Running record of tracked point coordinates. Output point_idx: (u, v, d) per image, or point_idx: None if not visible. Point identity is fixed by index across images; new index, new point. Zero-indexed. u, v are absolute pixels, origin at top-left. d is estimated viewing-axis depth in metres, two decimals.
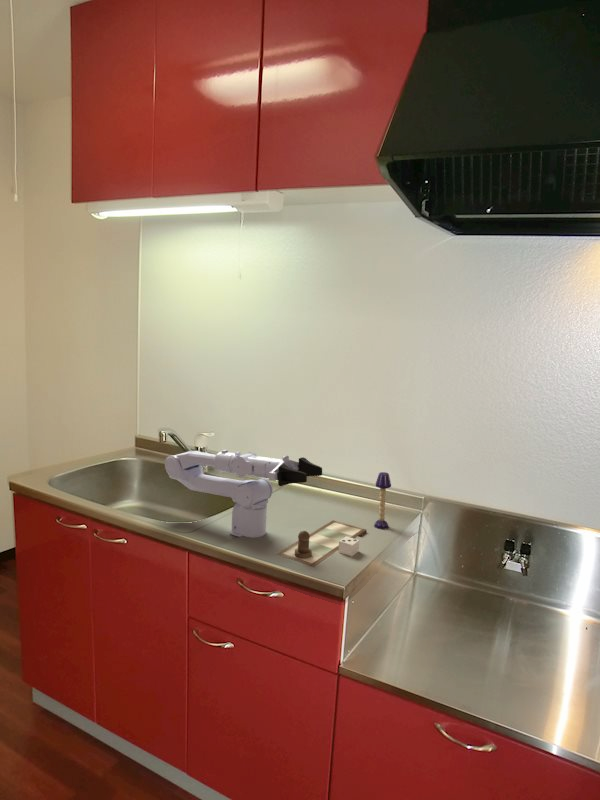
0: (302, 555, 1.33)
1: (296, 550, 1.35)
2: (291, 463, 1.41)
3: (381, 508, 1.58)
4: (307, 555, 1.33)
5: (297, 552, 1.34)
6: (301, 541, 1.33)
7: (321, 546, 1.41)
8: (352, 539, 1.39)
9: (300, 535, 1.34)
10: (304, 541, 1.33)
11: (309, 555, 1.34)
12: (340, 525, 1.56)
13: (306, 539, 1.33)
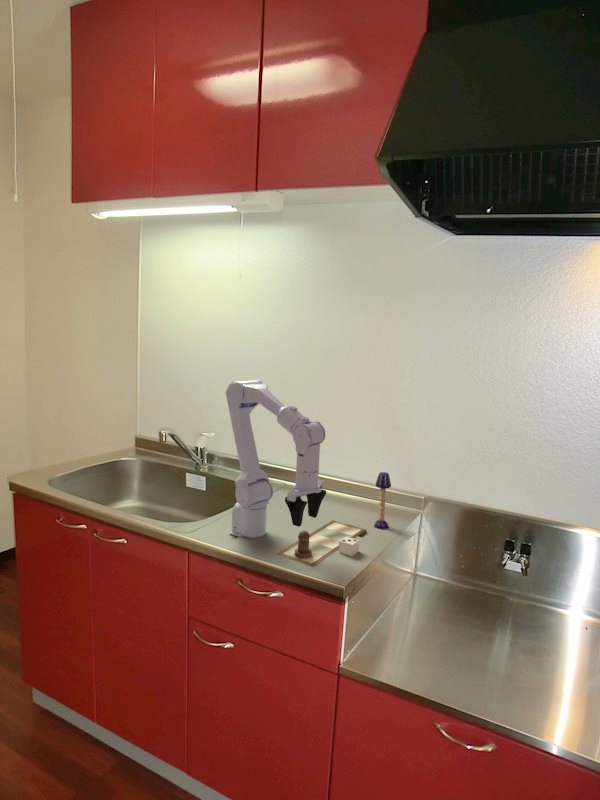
0: (302, 555, 1.33)
1: (296, 550, 1.35)
2: None
3: (381, 508, 1.58)
4: (307, 555, 1.33)
5: (297, 552, 1.34)
6: (301, 541, 1.33)
7: (321, 546, 1.41)
8: (352, 539, 1.39)
9: (300, 535, 1.34)
10: (304, 541, 1.33)
11: (309, 555, 1.34)
12: (340, 525, 1.56)
13: (306, 539, 1.33)
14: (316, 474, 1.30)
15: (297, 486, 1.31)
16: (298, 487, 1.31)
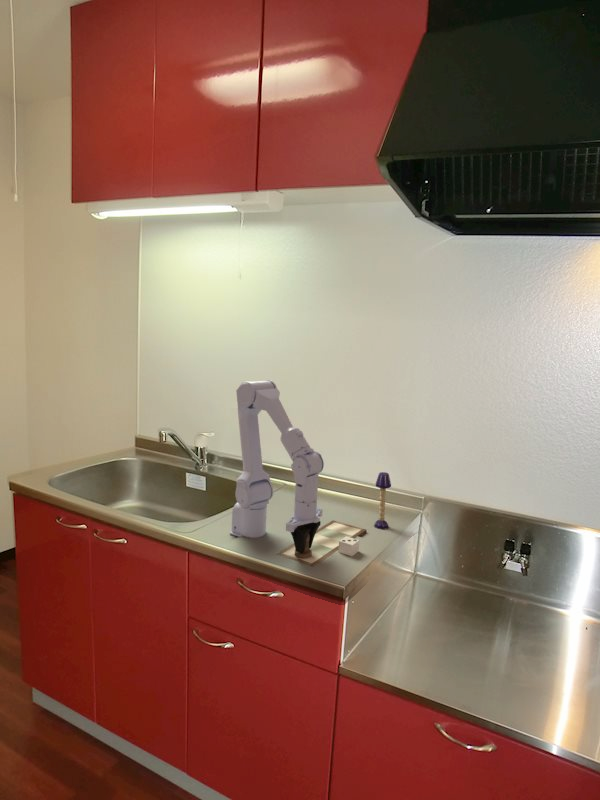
0: (302, 555, 1.33)
1: None
2: None
3: (381, 508, 1.58)
4: (307, 555, 1.33)
5: (297, 552, 1.34)
6: None
7: (321, 546, 1.41)
8: (352, 539, 1.39)
9: None
10: None
11: (309, 555, 1.34)
12: (340, 525, 1.56)
13: (306, 539, 1.33)
14: (314, 504, 1.31)
15: (296, 516, 1.32)
16: (297, 517, 1.32)
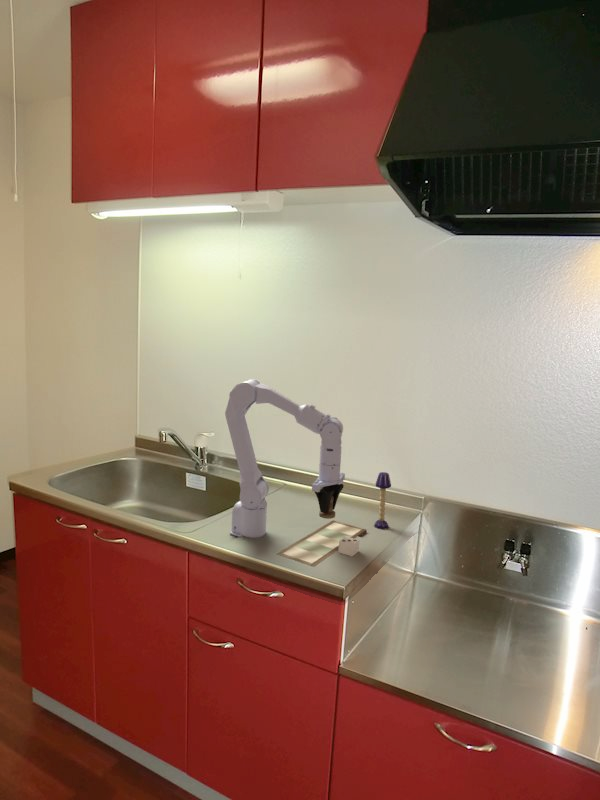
0: (326, 515, 1.42)
1: None
2: None
3: (381, 508, 1.58)
4: (331, 515, 1.42)
5: (322, 513, 1.43)
6: None
7: (321, 546, 1.41)
8: (352, 539, 1.39)
9: None
10: None
11: (333, 516, 1.42)
12: (340, 525, 1.56)
13: None
14: (338, 467, 1.40)
15: (320, 478, 1.41)
16: (321, 479, 1.40)
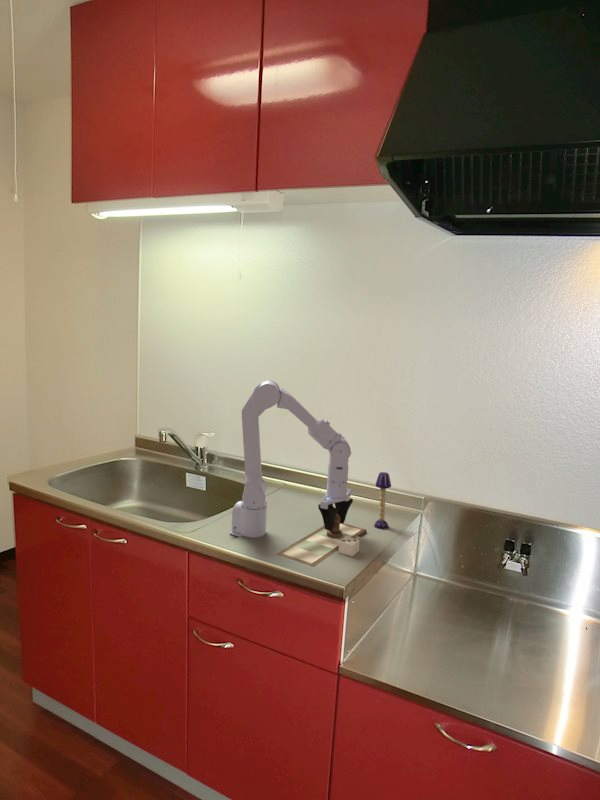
0: (334, 535, 1.47)
1: (328, 531, 1.49)
2: None
3: (381, 508, 1.58)
4: (338, 535, 1.47)
5: (329, 532, 1.48)
6: None
7: (321, 546, 1.41)
8: (352, 539, 1.39)
9: None
10: (335, 522, 1.47)
11: (340, 535, 1.47)
12: (340, 525, 1.56)
13: (337, 520, 1.47)
14: (345, 484, 1.45)
15: (328, 495, 1.46)
16: (329, 496, 1.45)
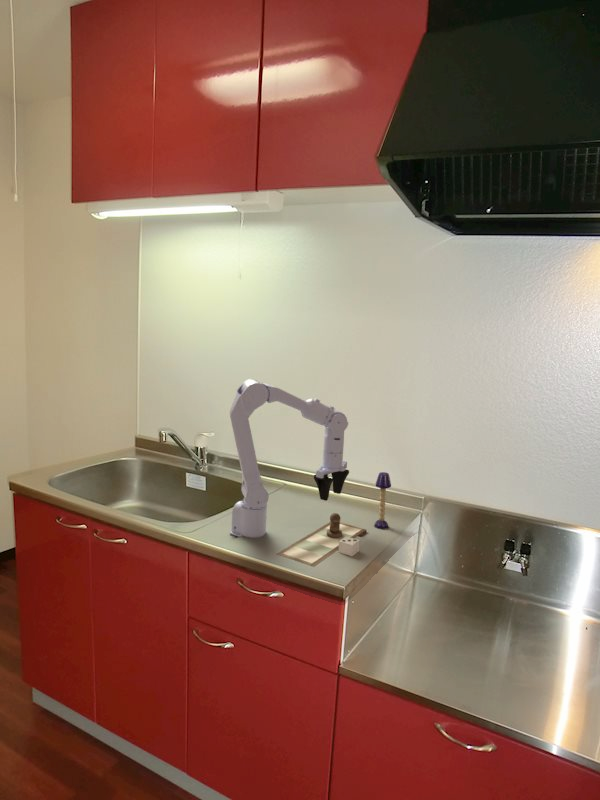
0: (334, 535, 1.47)
1: (328, 531, 1.49)
2: None
3: (381, 508, 1.58)
4: (338, 535, 1.47)
5: (329, 532, 1.48)
6: (333, 522, 1.47)
7: (321, 546, 1.41)
8: (352, 539, 1.39)
9: (332, 517, 1.47)
10: (335, 522, 1.47)
11: (340, 535, 1.47)
12: (340, 525, 1.56)
13: (337, 520, 1.47)
14: (341, 455, 1.49)
15: (324, 465, 1.50)
16: (325, 466, 1.49)
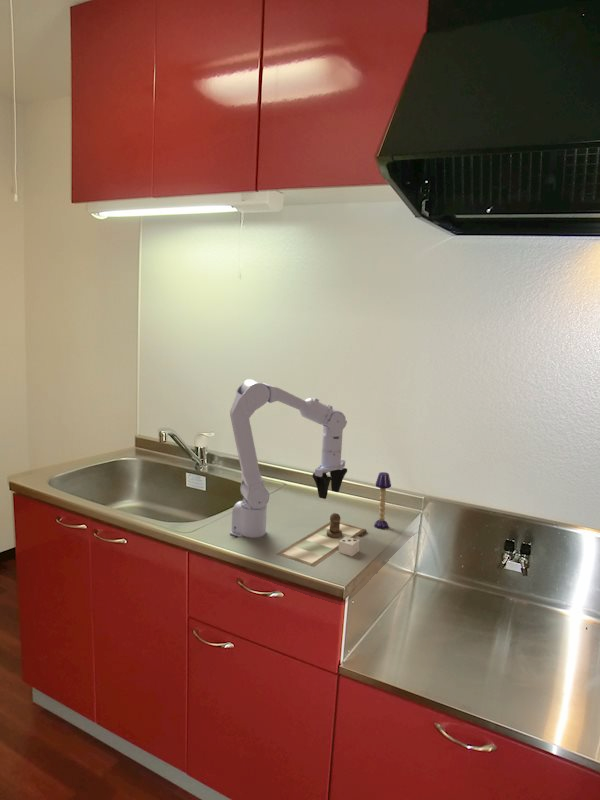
0: (334, 535, 1.47)
1: (328, 531, 1.49)
2: None
3: (381, 508, 1.58)
4: (338, 535, 1.47)
5: (329, 532, 1.48)
6: (333, 522, 1.47)
7: (321, 546, 1.41)
8: (352, 539, 1.39)
9: (332, 517, 1.47)
10: (335, 522, 1.47)
11: (340, 535, 1.47)
12: (340, 525, 1.56)
13: (337, 520, 1.47)
14: (339, 453, 1.51)
15: (323, 464, 1.51)
16: (324, 465, 1.51)
